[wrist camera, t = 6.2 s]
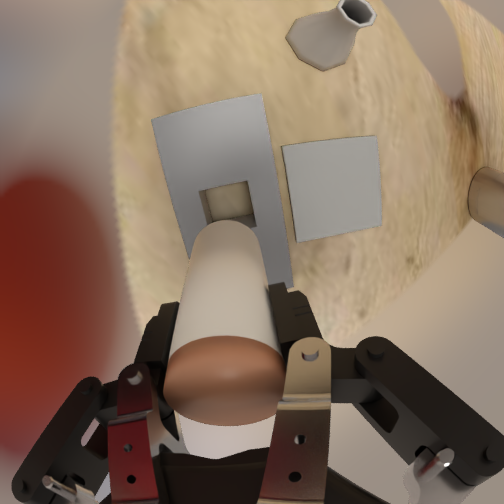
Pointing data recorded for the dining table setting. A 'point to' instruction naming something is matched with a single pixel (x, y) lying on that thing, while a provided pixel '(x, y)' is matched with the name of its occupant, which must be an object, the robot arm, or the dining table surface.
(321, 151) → the mat
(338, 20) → the flask
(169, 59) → the dining table surface
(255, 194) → the grey socket block
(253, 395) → the plug
